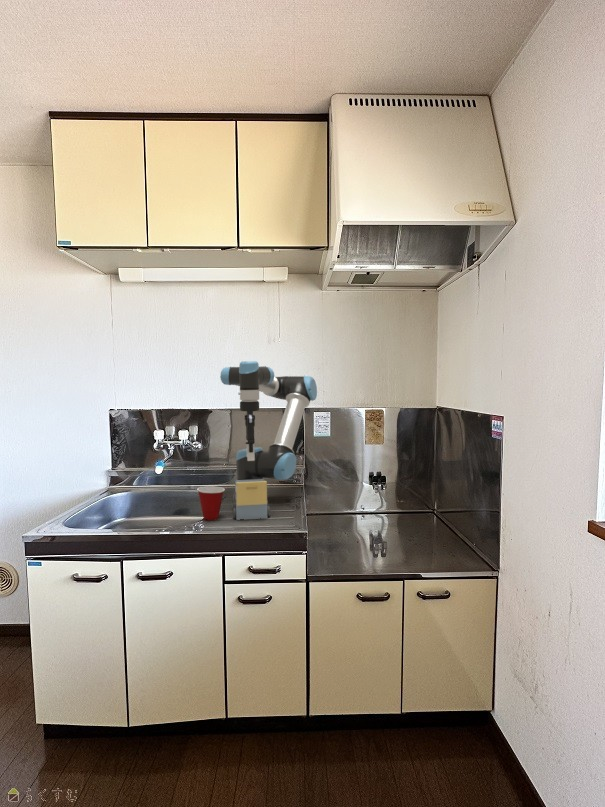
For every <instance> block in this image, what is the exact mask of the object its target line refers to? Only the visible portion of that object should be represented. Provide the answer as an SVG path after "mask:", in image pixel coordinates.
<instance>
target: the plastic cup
mask: <svg viewBox="0 0 605 807" xmlns="http://www.w3.org/2000/svg"><path fill="white" fill-rule="evenodd" d="M196 490H197V493H198V497H199V501H200V502H199V503H200V508H201V513H202V517H203V519H204V520H205V521H216V520H218V519H219V518H218V517H220V511H221V506H222V498H223V495H224V492H225V491H226V489H225V487H222V486H221V487H220V486H212V485H211V486H210V485H209V486H200V487H198V488H197V489H196ZM217 518H218V519H217ZM206 519H207V520H206ZM215 519H216V520H215Z"/></svg>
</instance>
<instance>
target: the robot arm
mask: <svg viewBox="0 0 605 807" xmlns="http://www.w3.org/2000/svg"><path fill="white" fill-rule="evenodd" d="M220 381H221V383H222V384H223V385H226V386H237V387H239V392H238V393H237V394H238V396H239V400H240V402H239V411H240V412H246V414H245V415H244V424H245V427H246V428H245V439H246V441H245V445H246V448H243V449H239V450H238V451H237V452H236V459H235V461H236V480H253V479H270V480H271V479H272V480H279V481H280V480H288V479H290V478H291V477H293V475H294V473H295V471H296V468H297V457H296V455H295V451H294V449H293V448H294V445H295V441H296V438H297V435H298V432H299V428H300V424H301V422H302V418H303V414H304V411H305V409H306V408H308V407H309V406H310V403H311V402H314V401H315V400H316V399H317V396H318V388H317V383H316V380H315V378H314V377H312V376H310V375H302V376H301V375H299V376H297V375H295V376H293V375H292V376H291V375H286V376H285V375H284V376H275V372H274V370H273V369H272V368H271V367H270V366H266V365H264V366H260V365H259V362H258V361H256V360H255V361H254V360H251V361H250V360H249V361H248V360H247V361H246V360H245V361H243V360H242V361H240V362H239V366H228V367H227V366H226V367H223V368H222V369H221V371H220ZM260 393H263V394H264V395H265V396H267V397H272V398H275V399H279V400H283V401H286V402H287V403H286V405H285V410H284V412H283V414H282V417H281V420H280V424H279V426H278V430H277V433H276V435H275V439H274V443H272V444H270V445H269V447H268V449H267V451H264V449H263V447H262V446H261V447H260V446H258V447H257V446H255V442H256V440H255V426H256V425H255V424H256V421H255V420H256V416H255V414H254V412H258V411H259V410H260V402H259V400H260ZM232 498H233V499H232V500H233V502H236V492H235V491H234V493H233V496H232Z"/></svg>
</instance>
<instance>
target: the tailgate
mask: <svg viewBox="0 0 605 807" xmlns="http://www.w3.org/2000/svg"><path fill="white" fill-rule="evenodd" d="M267 487H268V482H267V480H265V481H256V482H236V493H237V506H241V505H260V504H267V500H268V488H267Z"/></svg>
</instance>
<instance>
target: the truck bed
mask: <svg viewBox="0 0 605 807" xmlns="http://www.w3.org/2000/svg"><path fill="white" fill-rule="evenodd" d="M256 481H266V480H265V478H263V479H253V480H237V479H236V480H234V484H235V486H234V492H236V482H256ZM232 513H233V515H232V516H233V517H232V518H233V519H236V520H237V521H240V519H244V520H256V519H257V520H258V519H260V518H261V519H268V517H271V507H270V505H269V500H268V499H267V504H260V505H241V506H237V493H236V502H235V501H232ZM261 519H260V520H261Z"/></svg>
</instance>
